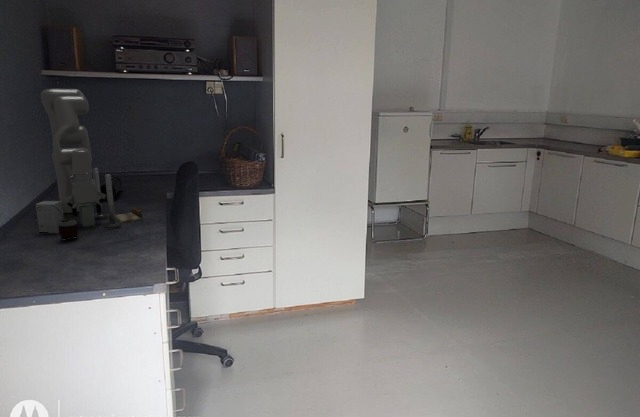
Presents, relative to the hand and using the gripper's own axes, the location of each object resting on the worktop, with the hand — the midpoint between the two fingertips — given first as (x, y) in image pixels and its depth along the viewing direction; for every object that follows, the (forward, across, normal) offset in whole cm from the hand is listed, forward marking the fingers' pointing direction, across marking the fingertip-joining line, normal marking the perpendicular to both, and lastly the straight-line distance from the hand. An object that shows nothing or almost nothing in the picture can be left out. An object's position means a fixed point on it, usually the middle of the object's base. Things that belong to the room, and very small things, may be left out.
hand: (87, 214), depth 219 cm
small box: (+5, -15, -1) cm, 16 cm away
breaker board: (+5, +18, +1) cm, 19 cm away
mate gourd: (+6, -12, -17) cm, 22 cm away
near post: (+5, +8, -9) cm, 13 cm away
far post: (+5, +8, +11) cm, 14 cm away
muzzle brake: (+4, +26, +55) cm, 61 cm away
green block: (+5, 0, +1) cm, 5 cm away
